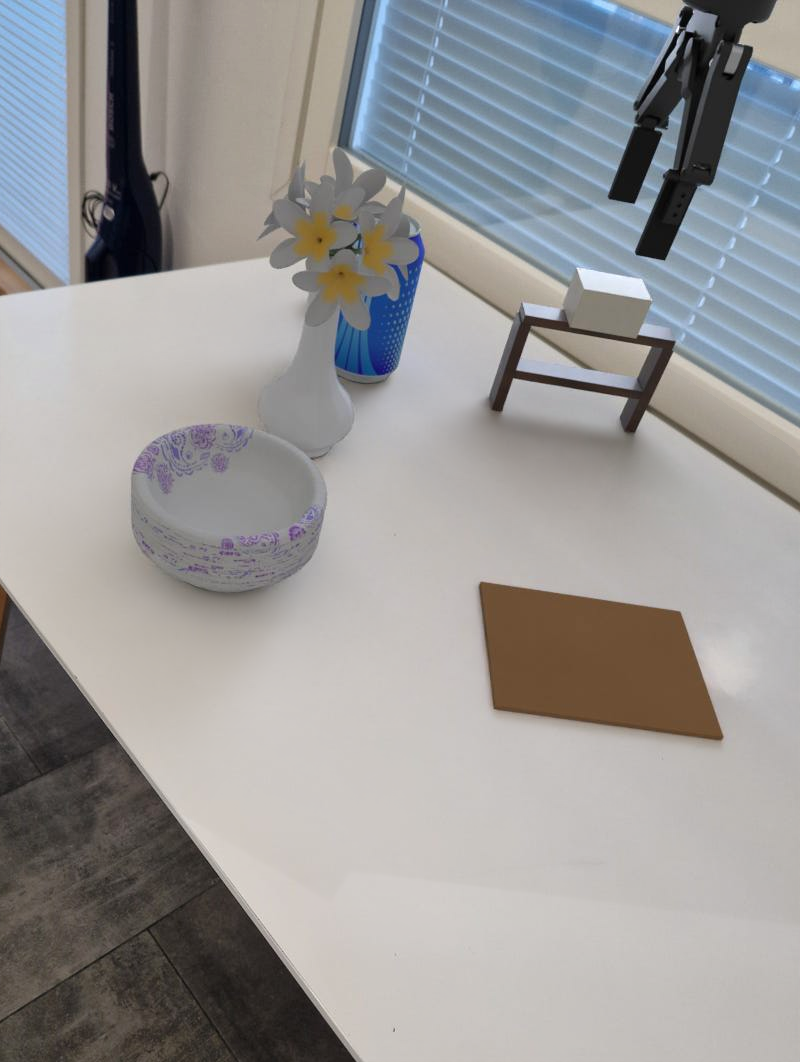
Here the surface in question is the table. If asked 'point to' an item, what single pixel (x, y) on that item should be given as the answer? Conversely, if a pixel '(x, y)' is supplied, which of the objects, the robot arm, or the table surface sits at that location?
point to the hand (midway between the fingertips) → (634, 227)
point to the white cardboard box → (606, 303)
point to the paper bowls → (226, 506)
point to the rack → (579, 378)
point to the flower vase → (331, 292)
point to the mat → (594, 661)
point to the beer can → (379, 325)
